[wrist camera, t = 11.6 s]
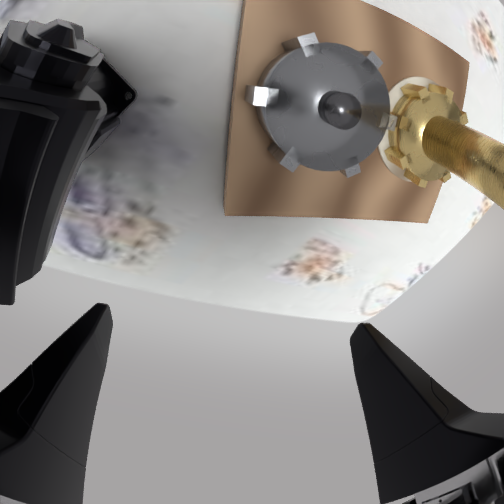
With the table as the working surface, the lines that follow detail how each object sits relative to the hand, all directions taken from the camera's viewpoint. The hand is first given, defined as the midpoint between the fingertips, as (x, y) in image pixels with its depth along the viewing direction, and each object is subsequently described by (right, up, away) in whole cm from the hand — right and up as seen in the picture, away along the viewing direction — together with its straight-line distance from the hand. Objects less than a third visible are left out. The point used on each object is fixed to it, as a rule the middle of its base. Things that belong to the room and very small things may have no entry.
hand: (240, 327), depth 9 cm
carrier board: (+9, +13, +8) cm, 18 cm away
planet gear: (+14, +12, +8) cm, 20 cm away
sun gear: (+4, +12, +6) cm, 14 cm away
